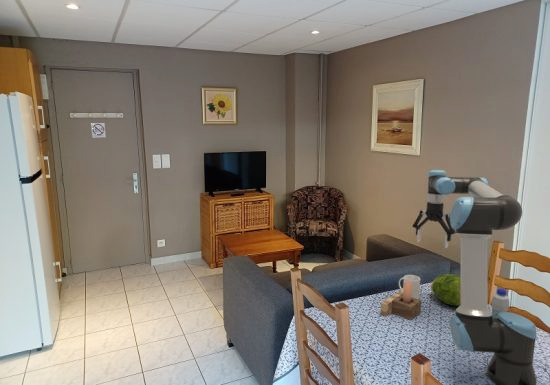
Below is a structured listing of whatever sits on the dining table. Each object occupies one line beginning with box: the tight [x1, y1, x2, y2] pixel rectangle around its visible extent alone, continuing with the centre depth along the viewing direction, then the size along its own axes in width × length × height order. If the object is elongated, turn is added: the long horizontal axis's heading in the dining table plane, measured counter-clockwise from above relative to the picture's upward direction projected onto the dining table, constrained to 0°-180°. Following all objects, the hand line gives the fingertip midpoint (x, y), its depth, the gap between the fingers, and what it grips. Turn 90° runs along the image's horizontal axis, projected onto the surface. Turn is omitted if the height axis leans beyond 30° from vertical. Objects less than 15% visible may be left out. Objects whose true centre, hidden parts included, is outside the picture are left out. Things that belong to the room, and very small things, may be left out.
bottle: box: [491, 288, 510, 318], centre depth 170 cm, size 7×7×20 cm
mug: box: [398, 274, 421, 300], centre depth 205 cm, size 12×8×12 cm
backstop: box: [380, 290, 403, 317], centre depth 193 cm, size 20×3×6 cm, turn 136°
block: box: [391, 295, 422, 321], centre depth 189 cm, size 10×10×6 cm
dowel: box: [403, 282, 412, 304], centre depth 188 cm, size 4×4×14 cm
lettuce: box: [430, 273, 461, 307], centre depth 201 cm, size 16×21×15 cm
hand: (432, 244), depth 193 cm, fingers open, 13 cm apart
